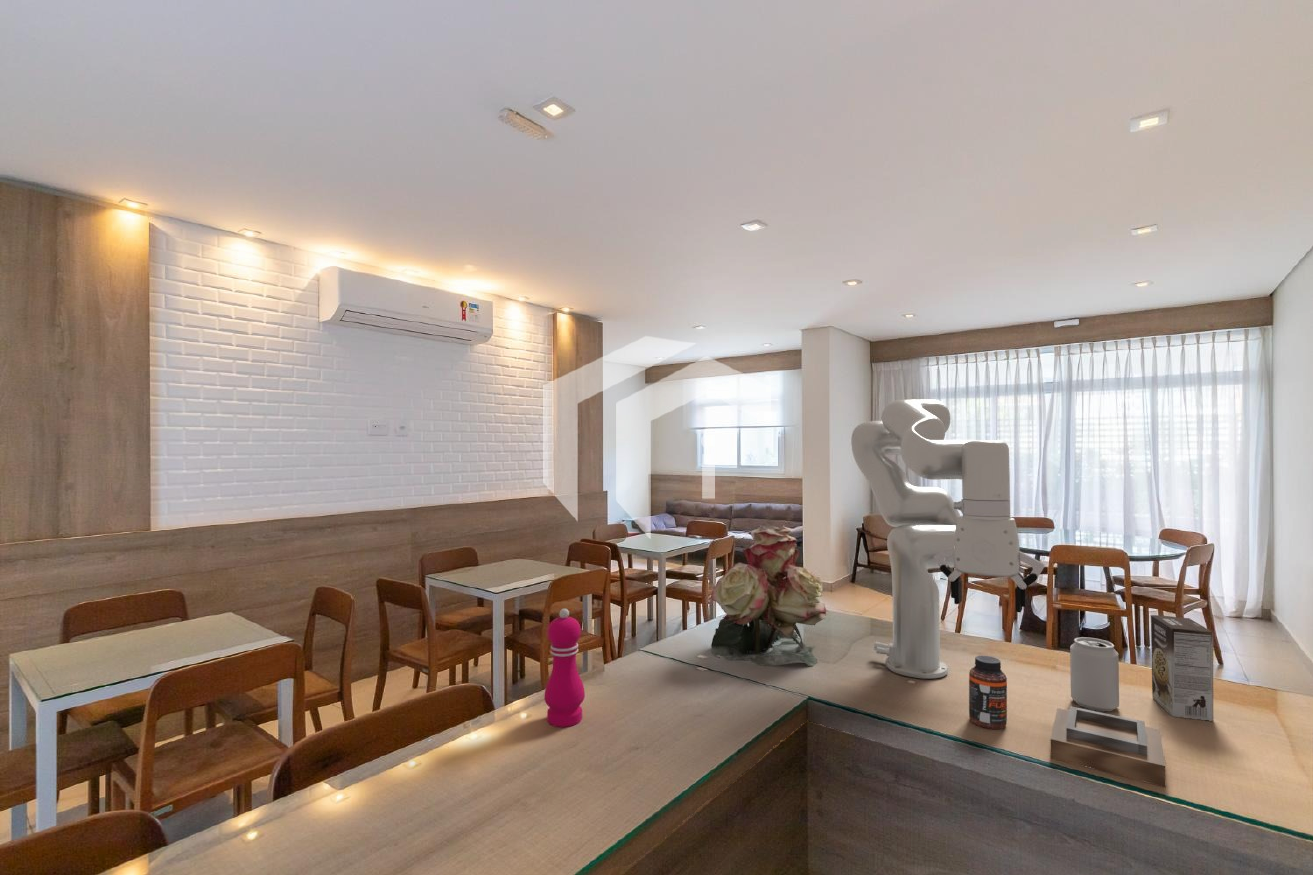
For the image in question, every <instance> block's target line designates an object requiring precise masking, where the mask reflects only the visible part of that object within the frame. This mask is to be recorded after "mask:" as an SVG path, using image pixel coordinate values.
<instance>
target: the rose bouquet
mask: <svg viewBox="0 0 1313 875" xmlns="http://www.w3.org/2000/svg"><path fill="white" fill-rule="evenodd" d="M791 532H792V528H790V527H786V526H785V525H784V524H782V525H781V526H780V527H778V526H775V525H763V526H762V525H760V527H758V528H757V529H756V528H755V529H752V530H750V531H748V532H747V533H748V535H750V536H751V538H752V540H753V541H754V544H752V545H751V546H750V547H746V548H743V549H742V551H743V553H744V554H745V557H746V560H747V564H746V563H742V562H738V563H735V564H734V565H732V566H730V568H729V569H727V571H726V573H725V574H724V575H722V576H721V577H720V578H719V579H718V580H717V582H716V585H714V586H713V588H712V592H711V594H710V598H711V600H712V601H714V602H715V603H717V604H718V606H720V608H721V609H722V611H723V612H724V613H725V614H726V615H724V616H722V619H720V620H719V623H718V627H717V628H715V630H714V635H713V637H712V640H711V644H710V647H711V648H710V649H711V654H712V656H713V657H715V658H718V659H728V658H731V659H729V660H728V661H739V660H740V661H745V660H746V661H748V660H749V661H751V662H752V663H754V664H756V665H758V666H769V667H776V666H781V665H787V664H798V663H805V664H806V665H807V666H809V667H814V665H816V664H817V662H818V660H817V659H816V657H815V655H814V654H813V650H814V649H815V648H816V646H814V645H813V646H806V645H805V644H804V642H805V640H804V638H803V637H802V635H801V633H800V629H799V628H798V626H797V625H796V624H802V625H807V626H816V625H817V623H820V622H821V621H823V620H825V619H826V616H827V608H826V603H824V602H821V597H822V596H823V595H822V592H823V590H824V589H823V581H822V580H821V577H819V576H816V575H815V574H813V572H812V571H810V570H809V569H807V568H805V567H800V566H796V561H797V559H798V558H799V555H800V554H799V553H800V550H799V549H796V548H797V547H798V544H796V543H797V542H798V540H797V538H796V537H793V536H790V535H788V534H789V533H791ZM777 641H779V642H780V644H777V645H775V643H777ZM770 649H772V650H770ZM764 650H770V651H769V652H764ZM751 652H754V653H751ZM761 652H763V653H761Z"/></svg>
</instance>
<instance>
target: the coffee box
mask: <svg viewBox="0 0 1313 875" xmlns="http://www.w3.org/2000/svg"><path fill="white" fill-rule="evenodd" d="M1150 625H1151V626H1150V634H1151V635H1150V637H1151V638H1150V642H1151V689H1152V690H1151V691H1152V692H1151V695H1152V696H1151V697H1152V699H1153V700H1154V701H1156V702H1157V704H1158V705H1160V707H1162V708H1163V709H1164V711H1166V712H1167V713H1168V714H1169V715H1170V716H1171V717H1173V718H1180V717H1185V718H1184V719H1189V718H1193V719H1192V720H1197V719H1201V720H1200V721H1205V720H1209V721H1208V722H1214V718H1215V717H1214V632H1213V631H1211V630H1210V629H1209V628H1207V627H1205V626H1203V625H1202V624H1200V623H1198V622H1197V621H1194V620H1193V619H1192V618H1190V617H1189V618H1188V617H1177V616H1170V615H1159V614H1158V615H1157V614H1151V615H1150Z"/></svg>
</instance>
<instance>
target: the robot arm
mask: <svg viewBox="0 0 1313 875" xmlns="http://www.w3.org/2000/svg"><path fill="white" fill-rule="evenodd" d="M880 415H881V420H871V421H865V422H862V423H859V424H858V425H857V426H856V427H854V429H853V430H852V433H851V439H850V440H851V441H850V442H851V443H850V444H851V452H852V455H853V458H854V461H855V464H856V465H857V466H858V469H859V470H860V472H861V473H862V474H863V476H864V477H865V479H866V480H867V482H868V484H869V486H870V489H871V491H872V493H873V496H874V499H875V502H876V505H877V506H878V510H879V513H880V514H881V517H882V518H883V520H884V521H885V523H886V524H887V525H888V526H890V527H892V529H891V531H889V533H888V535H887V540H886V544H887V545H886V546H887V552H888V558H889V564H890V570H891V585H892V586H891V587H892V588H891V589H892V590H891V592H892V642H889V643H883V642H879V641H875V642H874V645H873V648H874V649H873V650H874V651H875V652H876V654H880V655H886V656H887V658H886V659H885V666H886V667H887V668H888V670H890V671H891V672H893V673H896V674H898V675H901V676H905V677H909V678H915V679H922V680H923V679H927V680H929V679H930V680H931V679H939V678H943V677H945V676H947V674H948V672H949V667H948V665H947V664H946V663H945V662H943V661H941V643H940V642H941V637H940V636H941V634H940V631H941V630H940V628H941V627H940V626H941V625H940V624H941V623H940V621H941V620H940V590H939V587H938V584H937V582H936V581H935V579H933V577H932V576H931V574H930V573H929V571H928V570H929V569H935V568H936V569H937V568H939V570H940V571H941V572H942V573H943V574H944V575H945V576H946V577H947V579H948V580H949V581H950V598H951V599H953V601H954V602H953V603H954V605H959V604H960V603H961V602H963V588H962V586H963V585H962V583H963V582H962V581H963V580H961V579H960V578H961V577H960V576H961V575H962V574H968V575H976V576H988V577H999V578H1010V579H1011V580H1012V581H1013V582H1014V584H1015V585H1016V588H1015V589H1014V596H1015V597H1014V598H1015V600H1014V602H1015V604H1014V606H1015V612H1016V613H1021V612H1022V611H1023V608H1027V588H1028V587H1029V586H1030V585H1032V584H1033V583H1035V582H1036V581H1037V580H1038V578H1039V577H1040V575H1041V573H1042V571H1044V568H1045V563H1043V562H1041V561H1039V560H1037V559H1036V558H1034V557H1033V556H1030V555H1028V554H1026V553H1025V552H1023V551H1022V550H1021V549H1020V540H1019V532H1018V528H1017V523H1016V520H1015V518H1013V517H1011V493H1010V492H1011V490H1010V489H1011V484H1010V482H1011V480H1010V479H1011V477H1010V448H1009V446H1008V444H1007V443H1006V442H1005V441H1003V440H995V439H994V440H992V439H991V440H990V439H989V440H988V439H987V440H984V439H983V440H981V439H979V440H978V439H945V437H946V434H947V431H948V430H949V428H950V425H951V412H950V410H949V408H948V407H947V406H946V404H945V403H944V402H942V401H940V400H937V399H932V398H931V399H927V398H926V399H898V400H894V401H892V402H890V403H888V404H886V406H884V408H883V409H882V412H881V414H880ZM886 455H887V456H890V455H891V456H893V455H894V456H897V455H899V456H900V455H901V458H902V461H903V463H904V465H905V466H906V467H907V468H908V469H910V470H911V471H912V472H913V473H915V475H917V476H919V477H921V478H923V479H927V480H935V481H936V480H939V481H940V480H961V496H962V498H961V500H960V501H954V500H953V498H952V497H951V496H950V494H949V493H948V492H947V491H946V490H944V489H942V488H940V487H938V486H915V485H913V484H911V483H910V482H909V480H908V477H907V476H906V473H905V471H904V470H903V469H902V468H901V467H900V465H899V464H897V463H896V462H895V461H893V460H892V459H890V458H889V457H887V456H886ZM959 511H960V512H961V514H962V515H960V512H959ZM893 527H894V528H893ZM1021 562H1022V563H1023V564H1025V565H1028V566H1030V567H1031V568H1032V570H1031V571H1030V574H1028V575H1026V576H1025V577H1024V576H1023V574H1022V573H1021V572H1020V571H1021V564H1022V563H1021ZM953 568H954V570H953Z"/></svg>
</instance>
